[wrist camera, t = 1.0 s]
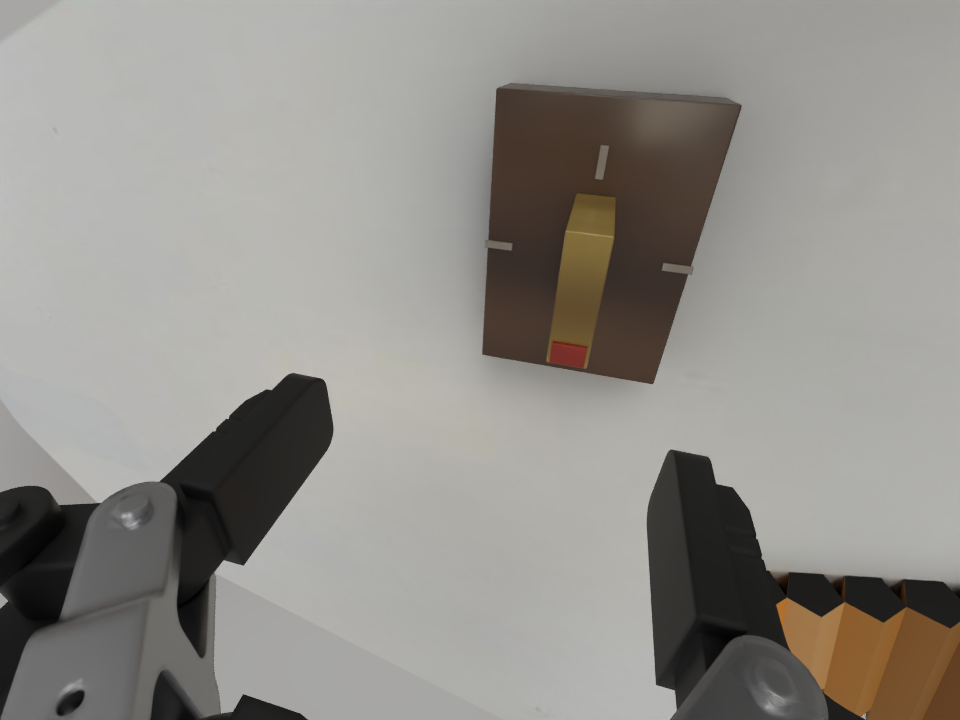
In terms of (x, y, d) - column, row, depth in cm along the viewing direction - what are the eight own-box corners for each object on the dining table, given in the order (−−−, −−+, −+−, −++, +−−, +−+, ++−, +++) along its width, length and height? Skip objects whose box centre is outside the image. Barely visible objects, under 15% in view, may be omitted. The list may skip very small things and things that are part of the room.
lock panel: (507, 82, 23) (493, 87, 20) (730, 97, 21) (746, 105, 18) (491, 330, 31) (479, 356, 28) (652, 356, 29) (655, 386, 26)
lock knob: (576, 192, 22) (564, 232, 17) (615, 196, 21) (614, 238, 17) (558, 306, 25) (545, 365, 21) (592, 311, 25) (586, 373, 20)
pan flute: (1038, 762, 41) (1174, 596, 29) (1067, 812, 39) (1231, 653, 26) (724, 713, 50) (727, 568, 37) (730, 752, 47) (736, 609, 35)
